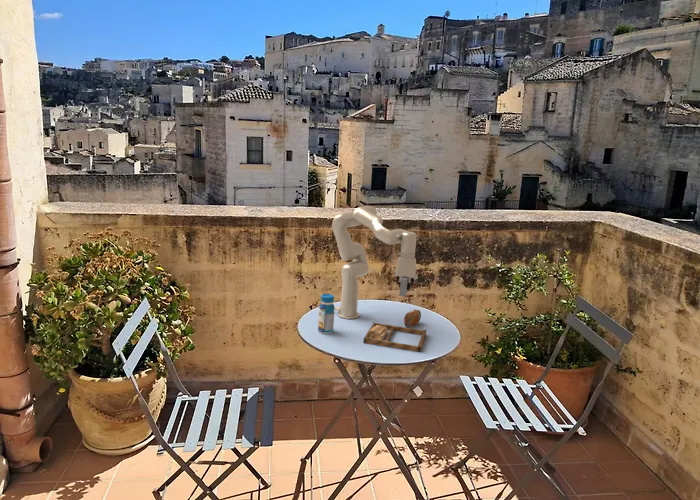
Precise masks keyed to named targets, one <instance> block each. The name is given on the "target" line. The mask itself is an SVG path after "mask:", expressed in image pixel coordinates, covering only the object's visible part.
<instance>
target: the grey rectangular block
mask: <svg viewBox="0 0 700 500" xmlns="http://www.w3.org/2000/svg"><path fill="white" fill-rule="evenodd" d="M407 283H408V278H407V277H402V278H401V283H400V287H399V294H398V295H399V296H400V297H406V295H407V294H408V292H409V289H410V288H409V289H408V290H407Z"/></svg>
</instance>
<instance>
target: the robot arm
mask: <svg viewBox="0 0 700 500" xmlns="http://www.w3.org/2000/svg"><path fill="white" fill-rule="evenodd" d="M361 225H363V226H364V227H366V228H367V229H369V230H371V231H372V233H373V235H374V237H375V238H377V239H378V240H379V241H381V242H382V243H384V244H387V245H392V246H393V245H396V244H401V246H400V251H398V252H397V255H398V258H397V263H396V269H395V271H394V273H393V274H392V275H393V277H395V278H396V279H397V280H398V282H399V284H398V285H399V286H398V287H399V288H400V283H401V278H402V277H407V278H408V283H407V290H408V289H411V284H412V282H413V281H416V280H417V279H418V278H419V277H418V276H419V275H418V274H417V258H416V246H417V233H416V232H413V231H407V230H405V229H402V228H396V229H389V228H386V227H385V226H383V218H382V217H381V216H380V215H378V214H377V210H376V208H374V207H373V206H371V205H364V206H357V208H355V209H354V211H350V212H342V213H338V214H336V216H334V217H333V220H332V222H331V229H332V231H333V234H334V237H335V240H336V246H337V249H338V254H339V256H340V258H341V260H342V261H346V262H347V261H350V262H347V263H345V264H344V265H343V266H342V268H341V271H340V272H341V280H342V283H341V299H340V306H336V305H334V307H335V309H334V312H335V311H336V312H337V316H338V317H340V318H342V319H345V320H347V319H348V320H353V319H354V320H355V319H358V318H359V317H360V313H359V311H358V303H359V302H358V300H359V289H360V288H359V287H360V285H359V282H358V278H363V277H365V276H366V275H367V274H368V273H369V269H370V268H369V263H368V258H367V255H366V254H367V253H366V252H365V248H364V246H363V245H362V244H361V243H360V242H358V241H356V242H355V241H353V240H352V237H351V234H350V232H349V231H348V230H347V229H348V228H353V227H358V226H359V227H360V226H361ZM351 260H352V261H351ZM408 291H409V290H408Z"/></svg>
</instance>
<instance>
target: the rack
mask: <svg viewBox="0 0 700 500" xmlns="http://www.w3.org/2000/svg"><path fill="white" fill-rule="evenodd" d="M376 325H380V326H384V327H386V328H387V331H388V334H387V335H386V337H385V338H384V339H383V340H377V339H371V338H368V337H369V336H370V335H371V334H369V332H370V330H371V329H372V328H373V327H375V326H376ZM394 332H397V333H405V334H412V335H416V336H417V335H418V336H420V339H419V342H418V344H417V345H413V344H406V343H401V342H395V341H390V340H391V337H392V336H393V334H394ZM425 336H427V329H423V330H422V329H417V328H413V327H411V328H409V327H406V326H397V325H391V324H385V323H378V322H373V323H372V325H371V326H370V328H369V329H368V331H367V332H366V334H365V336H364V337H363V340H362V341H363V344H368V345H374V346H381V347H385V348H392V349H399V350H405V351H411V352H415V353H417V352H418V353H421V351H422V348H423V345H424V342H425V340H424V339H425V338H426V337H425Z"/></svg>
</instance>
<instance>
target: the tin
mask: <svg viewBox="0 0 700 500" xmlns="http://www.w3.org/2000/svg"><path fill="white" fill-rule="evenodd" d="M421 318H422V313H421V310H420V309H413V310H410V311H408V312H406V314H405V315H404V317H403V325H404V327H405V328H410V327H411V328H413V327H415V326H417V325H418V324H419V323H420V321H421V320H422V319H421ZM417 323H418V324H417ZM416 324H417V325H416ZM414 325H415V326H414ZM412 326H413V327H412Z"/></svg>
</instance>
